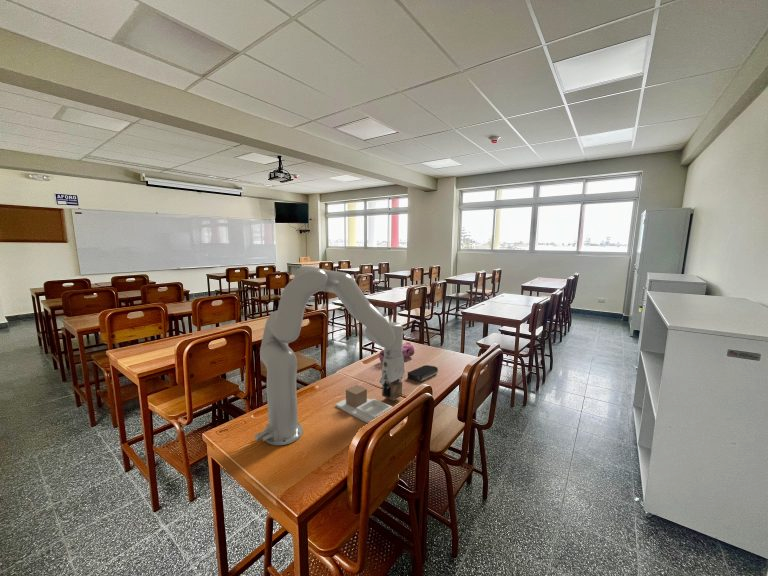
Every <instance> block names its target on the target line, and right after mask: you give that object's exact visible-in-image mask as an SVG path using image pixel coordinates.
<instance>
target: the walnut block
mask: <svg viewBox="0 0 768 576" xmlns="http://www.w3.org/2000/svg"><path fill="white" fill-rule="evenodd" d="M386 384H388V381H387V382H386ZM389 388H391V389H390V397H387V396H385V395H384V387H383V385H382V384H381V395H382V397H384V398H386V399H388V400H390V401H394V400H395V401H396V399H398V398H400V397H402V396H403V381H398V380H395V381H393V382H391V384H390V387H389Z"/></svg>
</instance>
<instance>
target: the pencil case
mask: <svg viewBox="0 0 768 576" xmlns="http://www.w3.org/2000/svg"><path fill="white" fill-rule="evenodd" d="M378 354H379V355H378V357H379V361H380V362H381V364H383V358H384V349H381V351H379V353H378ZM402 354H403V358H404V359H405V358H409V357H412V356H413V355H414V354H415V347H414V346H413V345H412V344H411V342H409V341H408V342H407V341H406V342H404V343H402Z"/></svg>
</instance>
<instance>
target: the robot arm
mask: <svg viewBox="0 0 768 576" xmlns="http://www.w3.org/2000/svg"><path fill="white" fill-rule="evenodd" d="M293 275H294V276H293V278H292V279H291V280H290V281H289V282H288V283H287V284H286V285H285V287H284V288H283V290H282V293H281V295H280V299H279V303H278V307H277V310H274V311H273V312H272V313H270V315H269V316H268V317H267V319H266V322H265V325H264V330H263V333H262V339H261V344H260V351H259V356H260V359H261V361H262V363H263V364H264V366H265V368H266V395H267V396H266V398H267V399H266V400H267V418H268V423H267V424H266V425H265V429H263V431H260V432H258V433H256V434H254V439H255V441H257V442H258V441H259V440H261V439H262V441H263V442H266V443H267V444H269V445H271V446H284V445H289V444H292V443H294V442H296V441H297V440H299V439H300V438H301V436H302V435H303V433H304V432H303V431H304V430H303V429H304V428H303V425H302V424H301V423H299V420H298V419H299V417H298V396H297V392H298V391H297V374H298V373H297V372H298V357H297V356H296V354H295V352H294V350H293V349H292V348H291V347H290V346H289V344H290V343H293V342H295V341H296V340H297V339H298V338H299V336H300V335H301V334H300V333H301V329H302V325H303V324H302V323H303V320H304V314H305V310H306V306H307V303H308V302H309V300H310V298H311V297H312V296H313V295H314V294H316V293H318V292H323V293H332V294H335V296H336V297H337V298H338V299H339V301H340V302H341V303H342V304H343V305H344V307H345V309H346V310H347V312H348V313H349V314H350V316H351V317H353V318H354V319H355V320H357V322H359V323H360V324H362V325H363V326H364V327H366V328H365V330H364V335H365V338H366V339H367V340H368V341H370V342H371V343H373V344H376V345H378V346H380V347H382V348H383V350H384V358H383V363H381V364H382V366H381V378H380V379H379V383H380V384H381V386H382V385H383V387H384V395H385V396H387V397H390V389H391V388H389V387H390V384H391V382H393V381H395V380H398V381H401V382H403V381H402V378H403V377H404V376H405V360H404V359H405V358H403V354H402V344H404V343H403V341H404V340H403V337H404V327H403V324H401V323H400V322H396V321H395V322H394V321H393V322H391V321H389V322H388V320H387V319H386V318H385V317H384V315H383V314H382V313H381V312H380V311H379V310H378V309H377V308H376V307H375V306H374V305H373V304H372V303H371V302H370V301H369V300H368V298H367V297H366V296H365V294H364V292H363V291H362V289H361V288H360V287H359V285H358V283H357V282H356V281H355V278H354V277H352V275H351V274H349V273H347V272H344V271H343V272H342V271H338V270H331V269H330V270H329V269H323V268H319V267H315V266H314V267H313V266H309V265H305V266H304V265H303V266H301V267H299V268H298V269H296V270H295V273H294V274H293ZM387 381H388V384H386V382H387Z"/></svg>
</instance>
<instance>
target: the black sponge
mask: <svg viewBox="0 0 768 576" xmlns="http://www.w3.org/2000/svg"><path fill="white" fill-rule="evenodd" d="M438 372H439V369H438V367H437V366H434V365H428V364H425V365H423V366H421V367H420V366H419V367H418V368H415V369H412V370H411V371H408V372H407V379H411V380H414V381H417V382H423V381H425V380H427V379H429V378H431V377H433V376H435V375H437V374H438Z"/></svg>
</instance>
